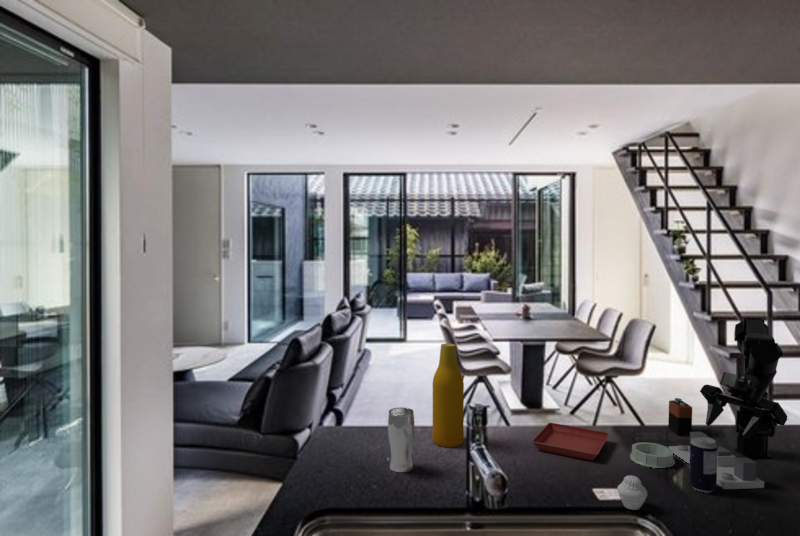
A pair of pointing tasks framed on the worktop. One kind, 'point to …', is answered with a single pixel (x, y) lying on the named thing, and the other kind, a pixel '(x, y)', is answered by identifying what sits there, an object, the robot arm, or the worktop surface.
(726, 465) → the switch panel
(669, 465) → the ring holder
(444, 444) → the beer bottle
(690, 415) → the battery
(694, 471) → the beverage can
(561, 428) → the plant saucer
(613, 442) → the worktop surface
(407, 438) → the beer glass
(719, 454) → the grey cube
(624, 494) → the lidded jar
